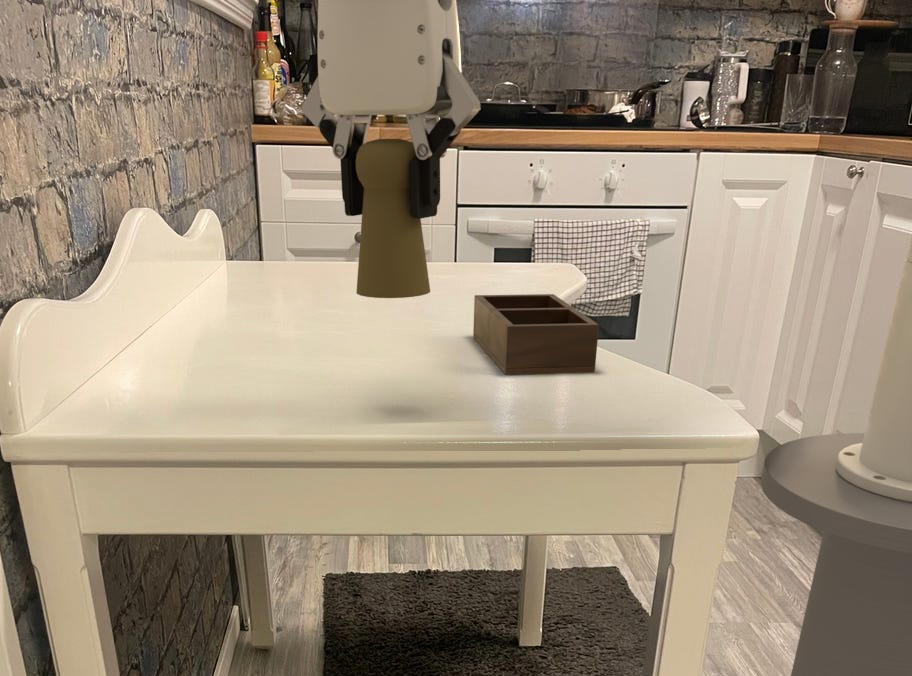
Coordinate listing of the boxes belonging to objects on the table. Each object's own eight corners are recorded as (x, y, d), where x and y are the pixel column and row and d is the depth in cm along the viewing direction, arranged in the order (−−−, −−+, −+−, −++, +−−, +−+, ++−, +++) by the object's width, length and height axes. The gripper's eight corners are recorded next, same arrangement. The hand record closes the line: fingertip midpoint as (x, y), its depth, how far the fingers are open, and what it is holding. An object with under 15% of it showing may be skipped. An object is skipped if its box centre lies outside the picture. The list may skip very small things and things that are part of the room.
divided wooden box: (594, 372, 94) (599, 324, 92) (505, 374, 93) (507, 326, 91) (550, 335, 109) (553, 293, 107) (473, 337, 108) (474, 295, 106)
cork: (343, 296, 76) (334, 140, 70) (374, 284, 81) (369, 138, 75) (413, 299, 74) (410, 139, 68) (441, 287, 79) (440, 137, 73)
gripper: (518, -75, 65) (510, 215, 74) (312, -53, 72) (327, 208, 81) (468, -92, 59) (466, 224, 68) (250, -67, 67) (274, 216, 75)
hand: (391, 213), depth 74 cm, fingers closed on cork, 5 cm apart
